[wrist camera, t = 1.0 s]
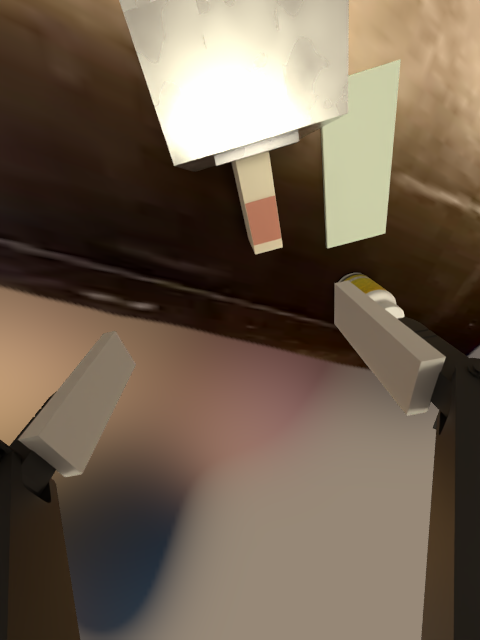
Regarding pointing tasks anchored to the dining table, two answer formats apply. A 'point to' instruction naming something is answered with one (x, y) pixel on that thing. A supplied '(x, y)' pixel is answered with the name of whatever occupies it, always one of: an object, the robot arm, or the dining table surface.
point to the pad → (360, 157)
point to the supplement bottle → (375, 293)
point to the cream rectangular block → (258, 201)
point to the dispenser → (240, 72)
